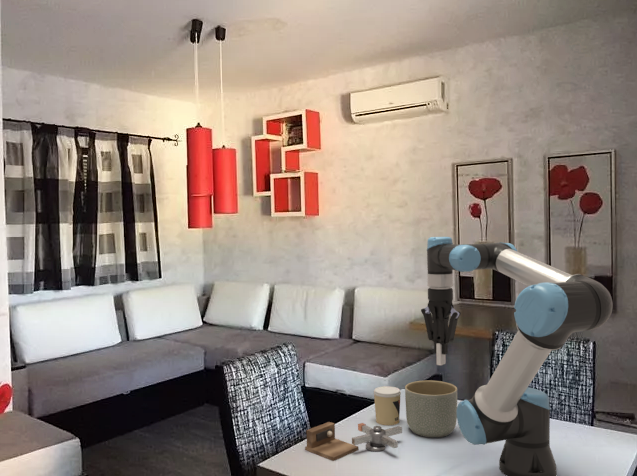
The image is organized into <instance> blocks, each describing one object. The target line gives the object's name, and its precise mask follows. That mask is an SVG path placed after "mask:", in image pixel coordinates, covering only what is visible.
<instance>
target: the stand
mask: <svg viewBox="0 0 637 476" xmlns="http://www.w3.org/2000/svg"><path fill="white" fill-rule="evenodd" d="M335 429H336V423H335V422H332V421H331V422H330V421H327V422H325V423H323V424H319V425H317V426H313V427H311V428H309V429H306V432H305V433H306V446H305V447H304V450H305V452H308V453H309V452H310V453H312V454H315V455H318V456H319V457H322V458H325V459H327V460H329V461H333V462H334V461H335V462H336V461H337V460H339V459H342V458H343V457H346V456H348V455H351V454H353V453H356V452H357V451H359V445H353V444H352V443H349V442H347V441H344V440H341V439H338V438H336V430H335Z"/></svg>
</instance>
